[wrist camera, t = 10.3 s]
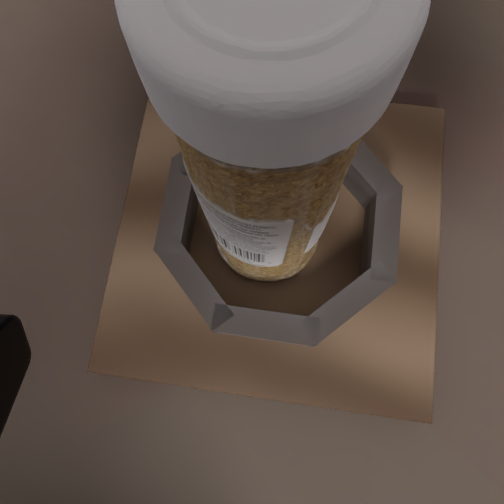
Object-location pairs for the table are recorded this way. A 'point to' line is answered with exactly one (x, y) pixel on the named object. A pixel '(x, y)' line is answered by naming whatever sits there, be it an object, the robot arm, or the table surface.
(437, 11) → the table surface
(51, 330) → the table surface
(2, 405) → the robot arm
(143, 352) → the collar plate
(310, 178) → the sprinkles bottle
